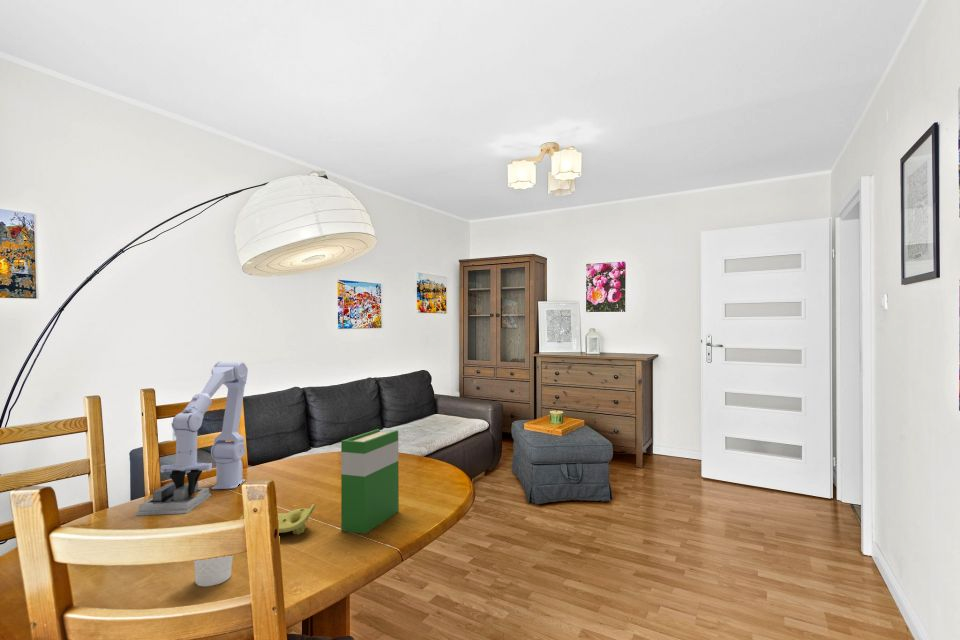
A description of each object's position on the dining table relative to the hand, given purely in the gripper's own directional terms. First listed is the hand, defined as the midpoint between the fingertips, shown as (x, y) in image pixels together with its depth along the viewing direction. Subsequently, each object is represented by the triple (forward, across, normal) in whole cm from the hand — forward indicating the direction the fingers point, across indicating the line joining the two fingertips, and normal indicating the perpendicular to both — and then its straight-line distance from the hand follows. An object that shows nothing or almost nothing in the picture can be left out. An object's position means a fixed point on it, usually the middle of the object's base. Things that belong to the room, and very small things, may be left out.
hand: (186, 494), depth 152 cm
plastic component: (+4, +36, -26) cm, 44 cm away
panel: (+2, 0, 0) cm, 2 cm away
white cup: (+4, +30, -51) cm, 59 cm away
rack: (+3, -3, 0) cm, 4 cm away
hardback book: (+4, +60, -21) cm, 64 cm away
